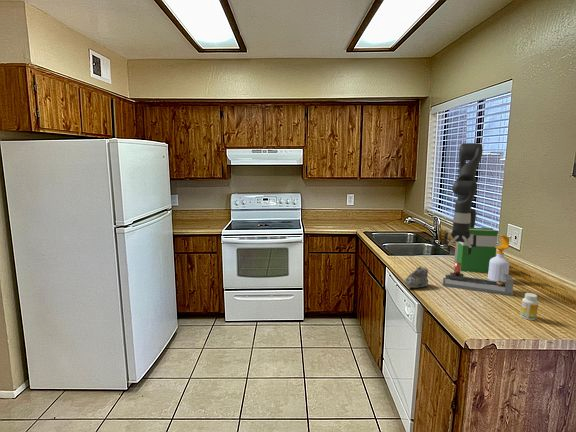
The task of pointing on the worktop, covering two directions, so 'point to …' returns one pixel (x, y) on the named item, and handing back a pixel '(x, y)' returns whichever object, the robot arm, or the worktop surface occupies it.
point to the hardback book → (478, 250)
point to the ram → (457, 273)
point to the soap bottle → (499, 262)
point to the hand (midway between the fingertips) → (458, 253)
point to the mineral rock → (417, 278)
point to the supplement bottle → (529, 306)
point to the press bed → (482, 284)
